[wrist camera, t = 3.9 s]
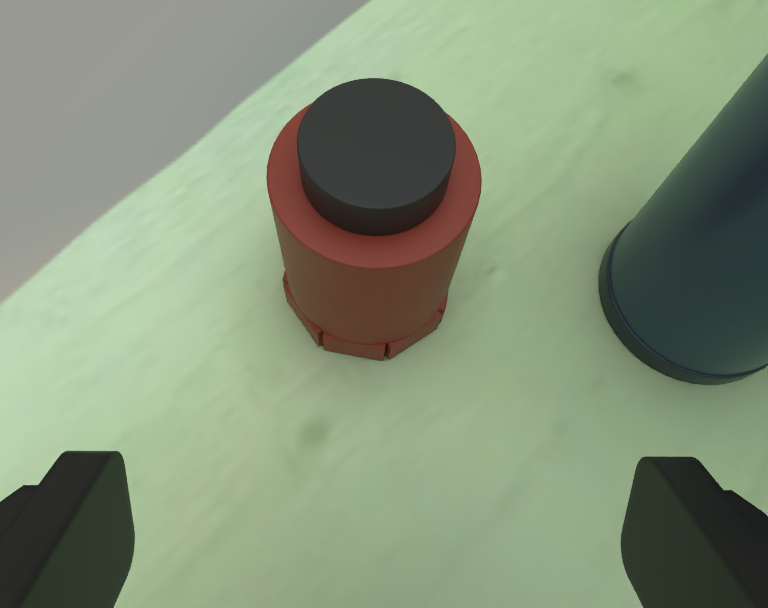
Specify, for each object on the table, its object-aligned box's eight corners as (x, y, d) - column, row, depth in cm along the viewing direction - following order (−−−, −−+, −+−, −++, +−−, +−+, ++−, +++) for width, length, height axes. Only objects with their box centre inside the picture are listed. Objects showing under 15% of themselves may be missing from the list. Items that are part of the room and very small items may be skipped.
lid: (387, 192, 28) (403, 19, 19) (475, 303, 26) (539, 168, 17) (261, 264, 26) (216, 111, 17) (346, 388, 24) (344, 287, 15)
